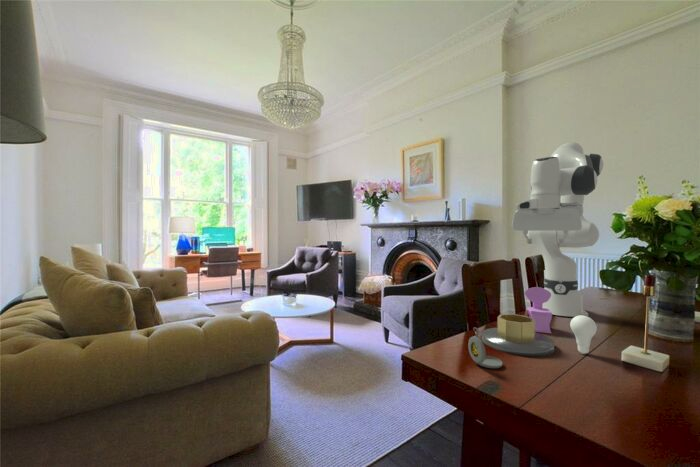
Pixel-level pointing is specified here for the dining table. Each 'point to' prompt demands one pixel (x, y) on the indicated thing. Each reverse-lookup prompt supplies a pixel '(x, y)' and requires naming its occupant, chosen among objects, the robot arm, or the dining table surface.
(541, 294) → the toy chair
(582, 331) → the lightbulb
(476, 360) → the pocket watch
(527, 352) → the lamp base
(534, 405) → the dining table surface
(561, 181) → the robot arm
